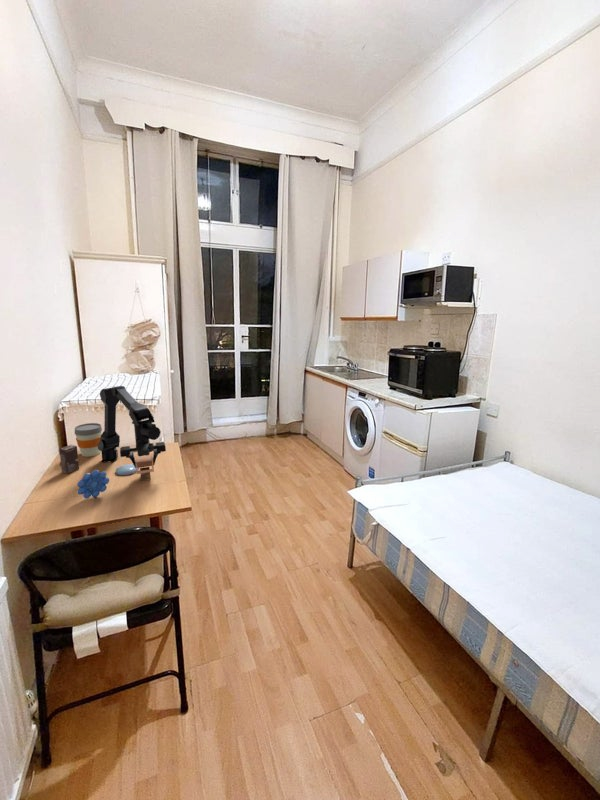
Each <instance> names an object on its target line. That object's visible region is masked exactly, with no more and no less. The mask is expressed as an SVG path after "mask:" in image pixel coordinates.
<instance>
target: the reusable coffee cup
mask: <svg viewBox="0 0 600 800" xmlns="http://www.w3.org/2000/svg"><path fill="white" fill-rule="evenodd" d="M102 431H103V428H102V424H101V423H97V422H90V423H89V422H87V423H83V424H79V425H77V426H75V427H74V435H75V437H76V438H75V440H76V443H77V448H79V451H80V454H81V456H82V457H93V456H98V455H99V453H100V454H102V453H101V451H100V450H98V447H97V445H98V443H99V441H100V438H101V434H102ZM97 454H98V455H97Z"/></svg>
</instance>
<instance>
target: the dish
mask: <svg viewBox="0 0 600 800" xmlns="http://www.w3.org/2000/svg"><path fill="white" fill-rule="evenodd" d="M138 471H140V468H138ZM115 474H116V475H118V476H130V475H133V474H137V473H136V468H135V466H134V465H133V463H130V464H129V463H127V464H123V465H119V466H118V467H117V468H116V469H115Z"/></svg>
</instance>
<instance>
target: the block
mask: <svg viewBox="0 0 600 800" xmlns="http://www.w3.org/2000/svg"><path fill="white" fill-rule="evenodd" d="M149 469H151V466H148V467H141V468H139V471H142V470H149ZM146 480H151V472H148V473H142V474H140V481H141V482H142V481H146Z"/></svg>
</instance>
